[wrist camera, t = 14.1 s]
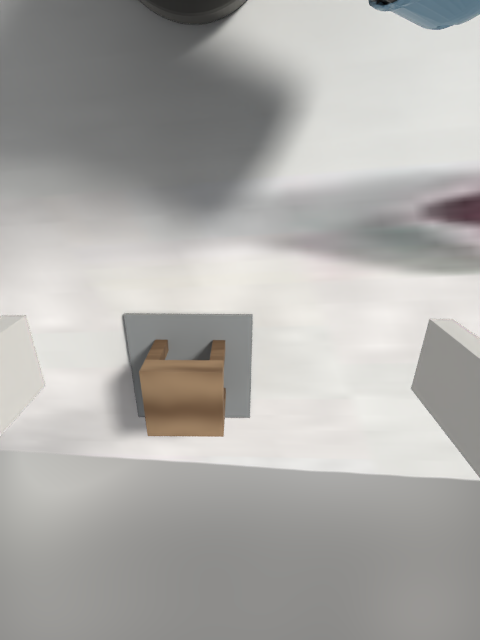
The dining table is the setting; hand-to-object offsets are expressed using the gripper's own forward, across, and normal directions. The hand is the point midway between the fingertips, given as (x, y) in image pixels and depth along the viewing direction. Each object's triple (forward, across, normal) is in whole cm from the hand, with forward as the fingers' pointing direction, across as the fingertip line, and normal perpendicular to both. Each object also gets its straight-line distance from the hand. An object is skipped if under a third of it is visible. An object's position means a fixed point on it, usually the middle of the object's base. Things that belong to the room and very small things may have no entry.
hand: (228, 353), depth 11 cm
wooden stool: (+28, -6, -19) cm, 35 cm away
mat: (+29, -6, -19) cm, 35 cm away
